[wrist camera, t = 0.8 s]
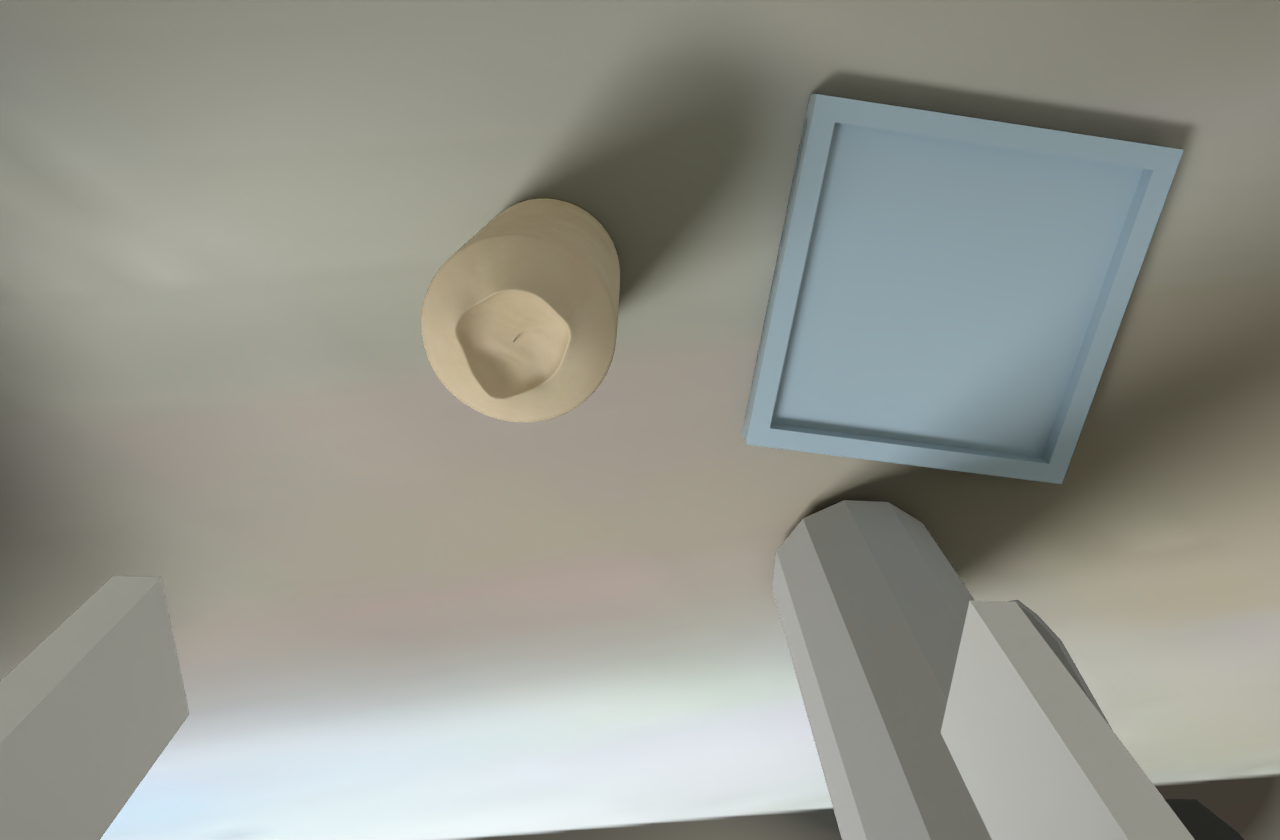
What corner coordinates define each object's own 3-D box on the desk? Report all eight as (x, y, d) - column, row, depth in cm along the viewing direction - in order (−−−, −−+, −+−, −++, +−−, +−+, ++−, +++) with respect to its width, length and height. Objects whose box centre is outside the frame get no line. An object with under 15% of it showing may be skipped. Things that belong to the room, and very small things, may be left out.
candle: (583, 364, 33) (563, 472, 23) (453, 304, 32) (378, 392, 22) (645, 237, 31) (650, 300, 21) (509, 170, 30) (453, 204, 21)
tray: (742, 432, 34) (746, 444, 33) (810, 93, 29) (817, 93, 28) (1047, 471, 34) (1061, 484, 33) (1162, 147, 30) (1183, 149, 29)
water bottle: (780, 651, 38) (1016, 1547, 14) (752, 501, 35) (991, 1318, 12) (982, 614, 37) (1570, 1491, 14) (971, 459, 34) (1688, 1234, 11)
